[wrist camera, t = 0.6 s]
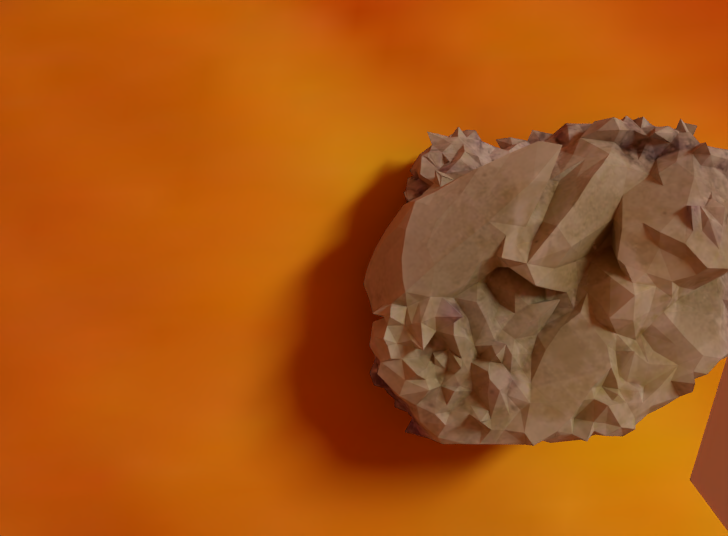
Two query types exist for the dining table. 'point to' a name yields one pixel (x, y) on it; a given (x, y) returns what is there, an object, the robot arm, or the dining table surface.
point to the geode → (552, 282)
